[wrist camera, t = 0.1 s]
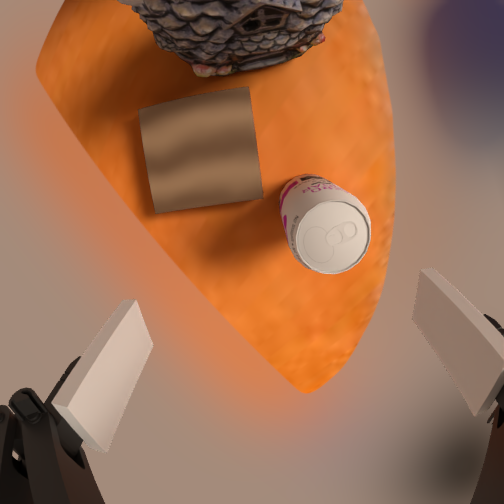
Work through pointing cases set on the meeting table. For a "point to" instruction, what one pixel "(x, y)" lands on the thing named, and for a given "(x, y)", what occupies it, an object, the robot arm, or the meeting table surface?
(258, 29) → the decorative house
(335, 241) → the supplement can
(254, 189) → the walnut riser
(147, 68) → the meeting table surface
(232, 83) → the meeting table surface
